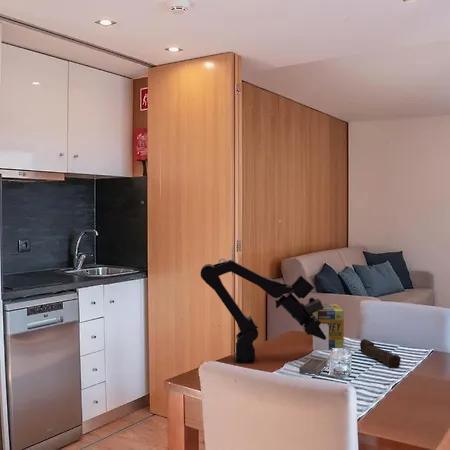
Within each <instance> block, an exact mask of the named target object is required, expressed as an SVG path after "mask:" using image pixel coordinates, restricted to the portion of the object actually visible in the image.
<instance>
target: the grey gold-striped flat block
mask: <svg viewBox="0 0 450 450" xmlns="http://www.w3.org/2000/svg"><path fill="white" fill-rule="evenodd" d="M326 366H327V367H328V360H326V359H324V360H323V359H315V358H311V357H310V358H309V359H308V360H306V361H305V362H304V363H303V364H301V365H300V367H299V373H308V374H315V375H317V374H318V373H319V372H320V371H321V370H322V369H323V368H324V367H326ZM327 367H326V368H327ZM299 373H298V374H299ZM319 374H320V373H319ZM319 374H318V375H319ZM318 375H317V376H318Z"/></svg>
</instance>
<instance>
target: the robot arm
mask: <svg viewBox="0 0 450 450" xmlns="http://www.w3.org/2000/svg"><path fill="white" fill-rule="evenodd" d="M230 272H231V273H232V274H235V275H237V276H239V277H241V278H242V279H244V280H246V281H248V282H250V283H252V284H254V285H257V286H258V287H259V288H261V289H262V290H263V291H264V292H265V293H267V294H268V295H269V296H271V298H274V307H275V308H276V309H279V307H282V308H283V309H284V310H285V311H286V312H287V313H288V314H289V315H290V316H291V318H293V319H294V320H295V321H296V322H297V323H298V324H299V325H300V326H301V327H302V328H303V331H304V332H305V334H307V335H308V336H310V335H311V336H312V335H313V336H316V337H318V338H321V339H323V340H325V339H326V336H325V335H324V333H323V332H322V330H321V329H320V327H319V325H320V324H321V322H320V321H319V320H318V319H317V318H316V317H315V316H313V313H314V312H317V311H319V310H322V309H324V307H323V305H322V304H323V303H322V301H321V299H319V298H316V299H315V298H314V297H310V298H308V302H307V304H304V303H302V302H300V301H299V299H305V298H306V297H307V296H308V295H309V294H310V293H312V291H313V290H314V289H315V288H314V286H313V285H312V284H311V283H310V282H309V281H308V280H306V279H305V277H303V276H302V275H301V274H300V275H299V276H298V277H297V278H296V279H295V281H293V283H292V284H288V283H286V284H285V283H282V282H280V281H279V280H278V279H274V278H271V277H266V276H263V275H261V274H259V273H258V272H255V271H253V270H251V269H249V268H248V267H246V266H244V265H242V264H240V263H238V262H236V261H235V260H234V259H228V260H227V261H222V262H219V263H215V264H211V263H210V264H209V263H207V264H204V265H203V266H202V267H201V269H200V277H201V279H202V280H203V281H204V282H205V284H207V285H208V286H209V287H210V288H211V289H212V290H214V292H215V293H216V294H217V296H218V298H219V299H220V300H221V302H222V303H223V305H224V306H225V307H226V309H227V310H228V312H229V313H230V315H231V316H232V317H233V319H234V320H235V322H236V324H237V326H238V329H239V332H238V333H236V335H235V338H236V342H235V358H234V359H235V363H237V364H238V363H239V364H241V363H243V364H247V363H249V364H250V363H252V364H253V363H255V359H256V348H255V346H254V341H256V340H257V339H258V337H259V330H258V328H259V326H258V323H256V322H255V320H254V319H253V318H252V316H251V315H249V316H247V315H246V314H245V313H244V312H243V310H242V309H241V308H240V307H239V305H238V304H237V303H236V301H235V299H234V298H233V297H232V295H231V294H230V293H229V291H228V290H227V288H226V286H225V285H224V284H223V282H222V279H221V278H220V276H222V275H225V274H228V273H230ZM296 297H297V298H296Z"/></svg>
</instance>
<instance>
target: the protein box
mask: <svg viewBox="0 0 450 450" xmlns="http://www.w3.org/2000/svg"><path fill="white" fill-rule="evenodd" d="M322 305H323V307H324V309H322V310H319V311H317V312H314V313H313V316H315V317H316V318H317V319H318V320H319V321H320V322H321V324H327V325H328V326H329V349H332V348H343V349H344V344H345V343H344V340H345V339H344V338H345V337H344V324H345V323H344V321H345V320H344V318H345V317H344V316H345V314H344V310H343V309H342V308H341V307H340V306H339V305H338V304H335V303H334V304H332V303H329V304H327V303H322ZM313 316H312V317H313ZM311 336H312V339H311V340H312V341H313V335H311Z"/></svg>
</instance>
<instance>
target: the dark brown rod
mask: <svg viewBox="0 0 450 450" xmlns="http://www.w3.org/2000/svg"><path fill="white" fill-rule="evenodd" d="M359 347H360V352H361V353H362V354H363V355H365V356H366V357H372V358H373V359H376V360H378V361H380V362H381V363H383V364H385V365H387V366H388V368H389V369H397V368H399V367H400V365H401V356H400V355H397V354H393V353H391V352H390V351H388V350H384V349H382V348H380V347H378V346H376V345H375V343H374V342H372V341H371V340H369V339H366V338H363V339H361V340H360V342H359Z"/></svg>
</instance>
